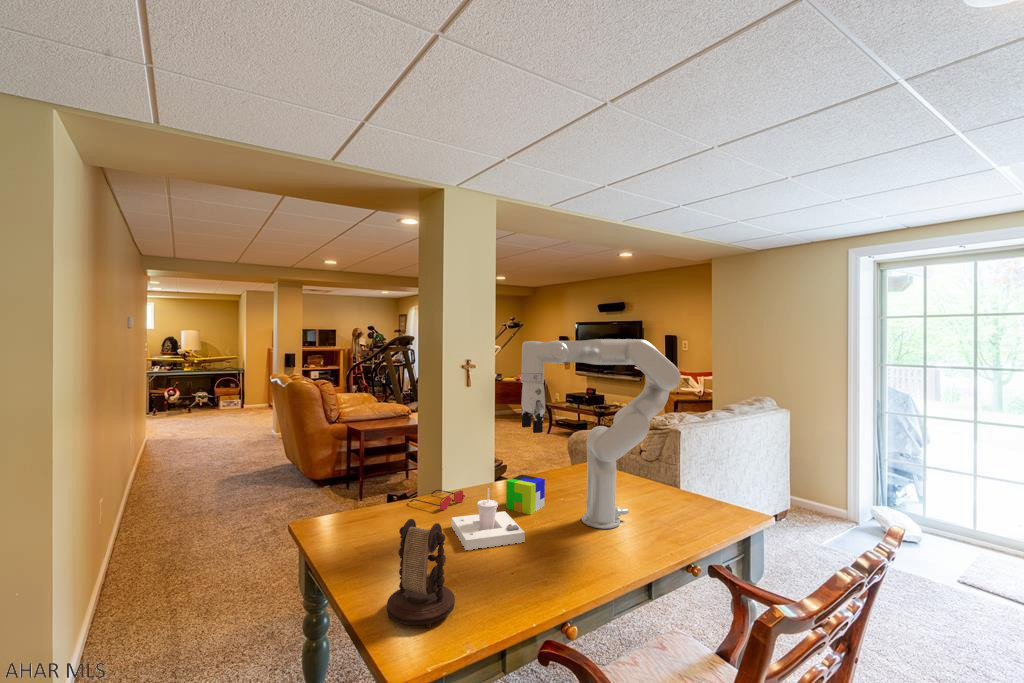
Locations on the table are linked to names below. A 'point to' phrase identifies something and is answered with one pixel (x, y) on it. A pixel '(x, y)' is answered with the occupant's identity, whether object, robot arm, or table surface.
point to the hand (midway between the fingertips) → (531, 429)
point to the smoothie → (487, 513)
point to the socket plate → (487, 531)
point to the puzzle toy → (525, 493)
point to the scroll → (420, 578)
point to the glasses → (447, 499)
